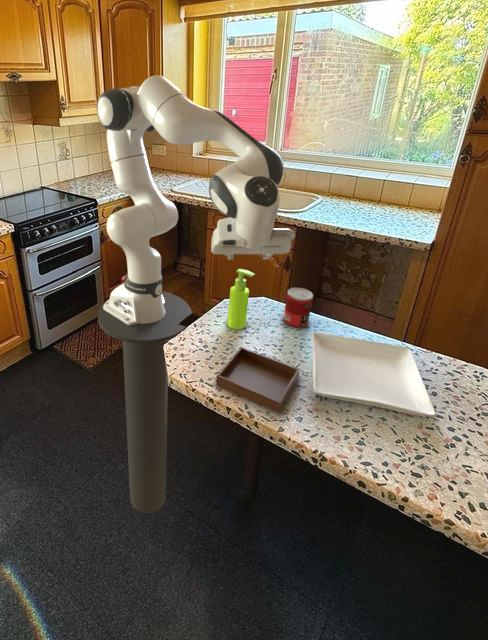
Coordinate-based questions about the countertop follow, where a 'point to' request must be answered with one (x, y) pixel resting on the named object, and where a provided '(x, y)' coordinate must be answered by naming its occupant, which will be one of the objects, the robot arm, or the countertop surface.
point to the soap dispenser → (238, 301)
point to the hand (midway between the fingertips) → (247, 257)
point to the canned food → (298, 307)
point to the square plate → (369, 374)
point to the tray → (258, 378)
